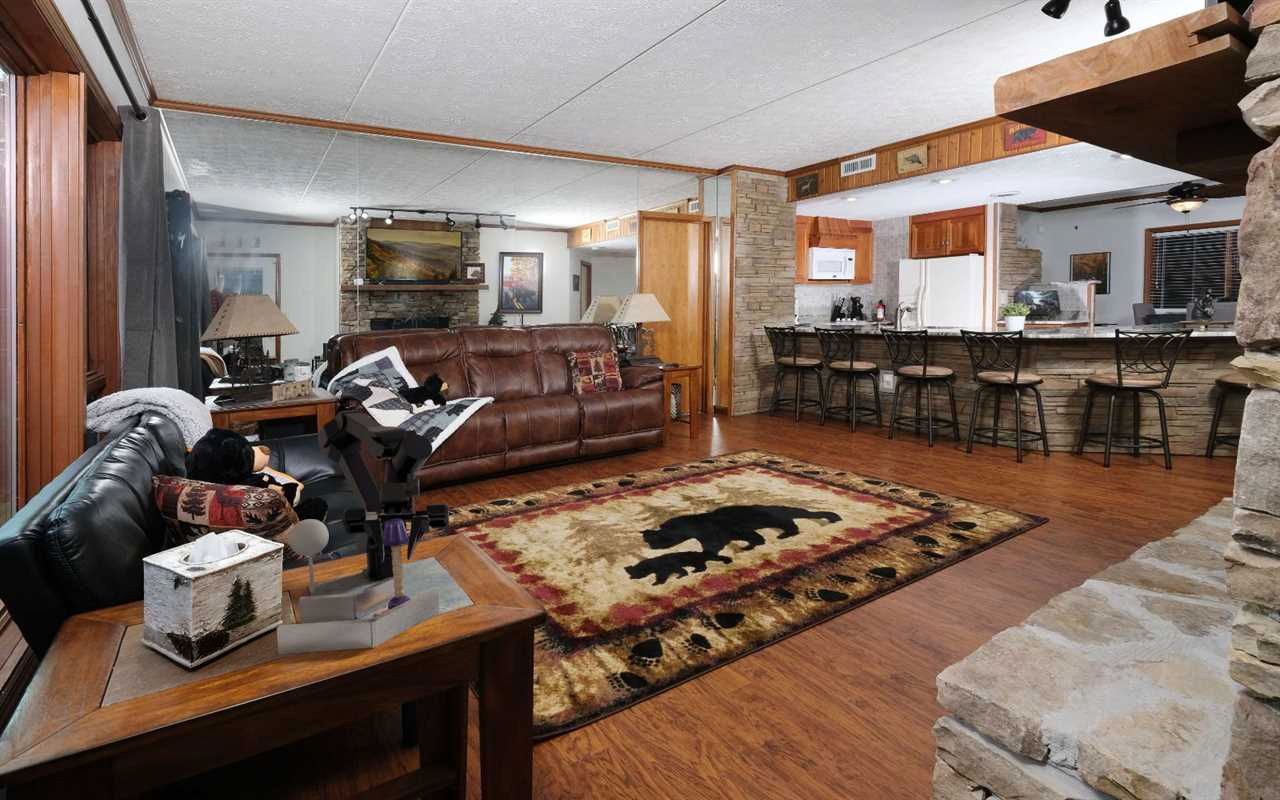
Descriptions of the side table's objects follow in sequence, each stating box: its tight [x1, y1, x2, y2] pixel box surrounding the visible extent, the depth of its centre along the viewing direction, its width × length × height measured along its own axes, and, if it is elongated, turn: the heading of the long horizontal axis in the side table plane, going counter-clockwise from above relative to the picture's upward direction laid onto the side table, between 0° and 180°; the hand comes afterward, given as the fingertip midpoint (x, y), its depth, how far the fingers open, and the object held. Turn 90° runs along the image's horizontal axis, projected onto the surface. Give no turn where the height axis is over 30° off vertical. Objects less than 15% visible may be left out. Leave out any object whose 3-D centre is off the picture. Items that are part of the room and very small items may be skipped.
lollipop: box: [288, 518, 330, 594], centre depth 135 cm, size 7×7×15 cm
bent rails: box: [276, 576, 440, 655], centre depth 121 cm, size 18×27×4 cm, turn 126°
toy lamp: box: [382, 519, 411, 610], centre depth 126 cm, size 5×5×17 cm
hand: (395, 560), depth 125 cm, fingers closed on toy lamp, 4 cm apart
